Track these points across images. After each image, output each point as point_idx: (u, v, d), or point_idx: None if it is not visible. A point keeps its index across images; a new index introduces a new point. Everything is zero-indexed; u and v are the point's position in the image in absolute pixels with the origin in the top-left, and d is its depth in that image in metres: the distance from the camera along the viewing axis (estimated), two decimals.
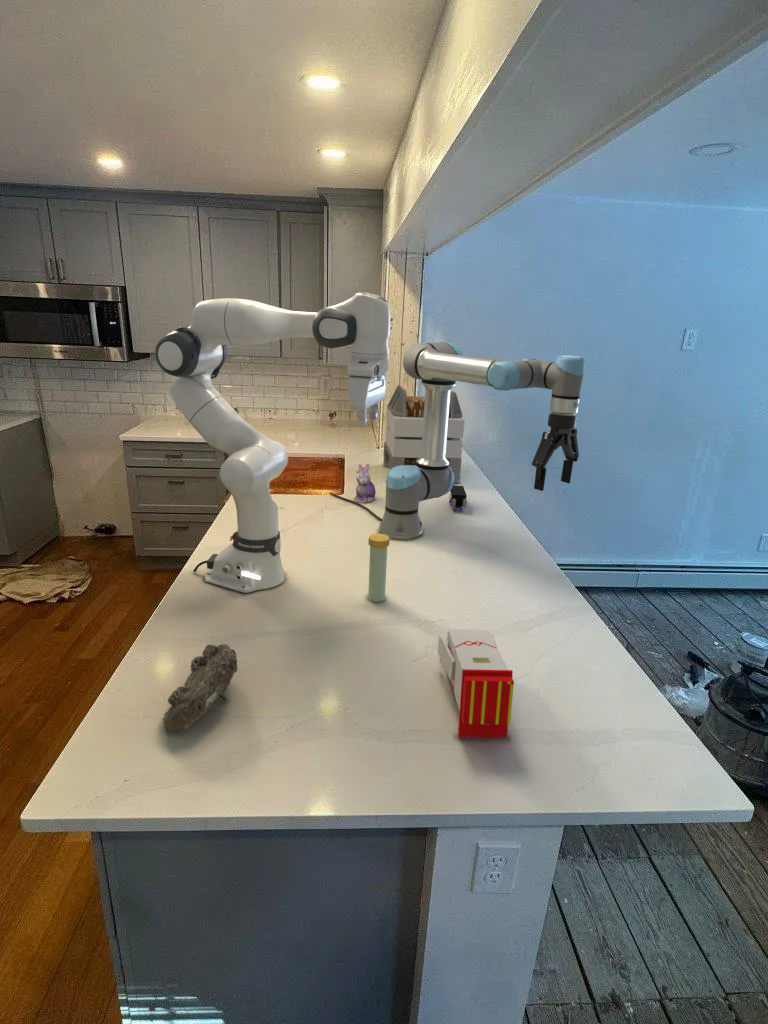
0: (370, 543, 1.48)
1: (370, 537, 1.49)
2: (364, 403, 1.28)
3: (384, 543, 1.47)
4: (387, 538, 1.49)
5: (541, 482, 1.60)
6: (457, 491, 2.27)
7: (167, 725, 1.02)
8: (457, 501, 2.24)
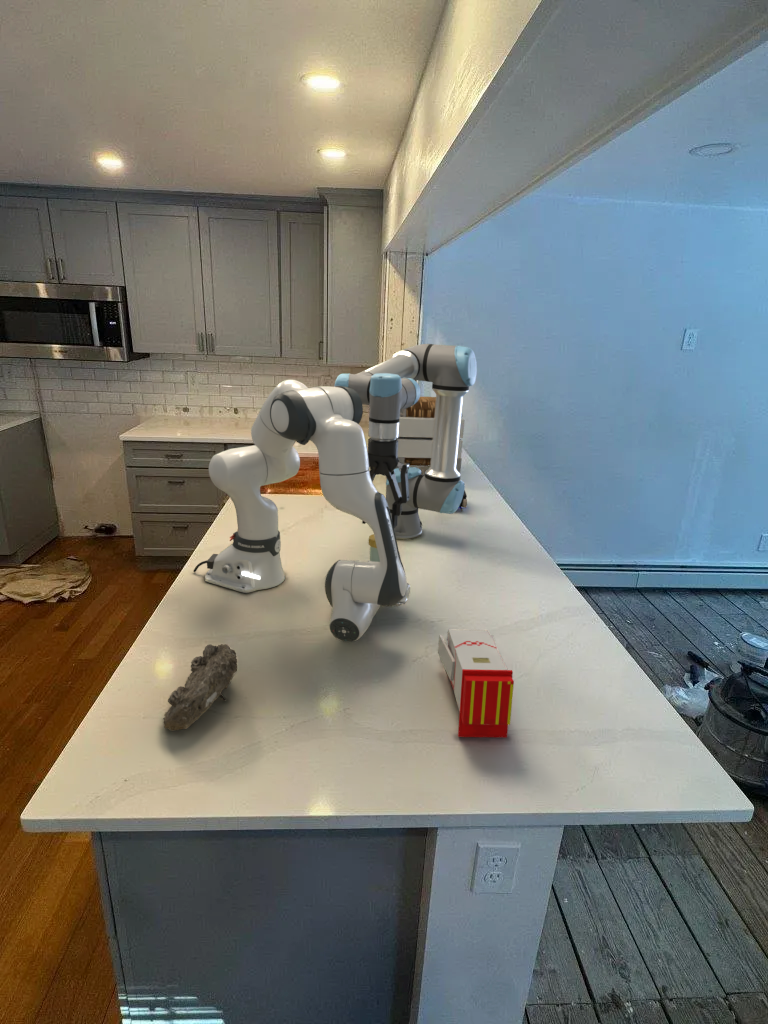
0: (370, 543, 1.48)
1: (370, 537, 1.49)
2: None
3: None
4: None
5: (397, 517, 1.47)
6: None
7: (167, 725, 1.02)
8: None
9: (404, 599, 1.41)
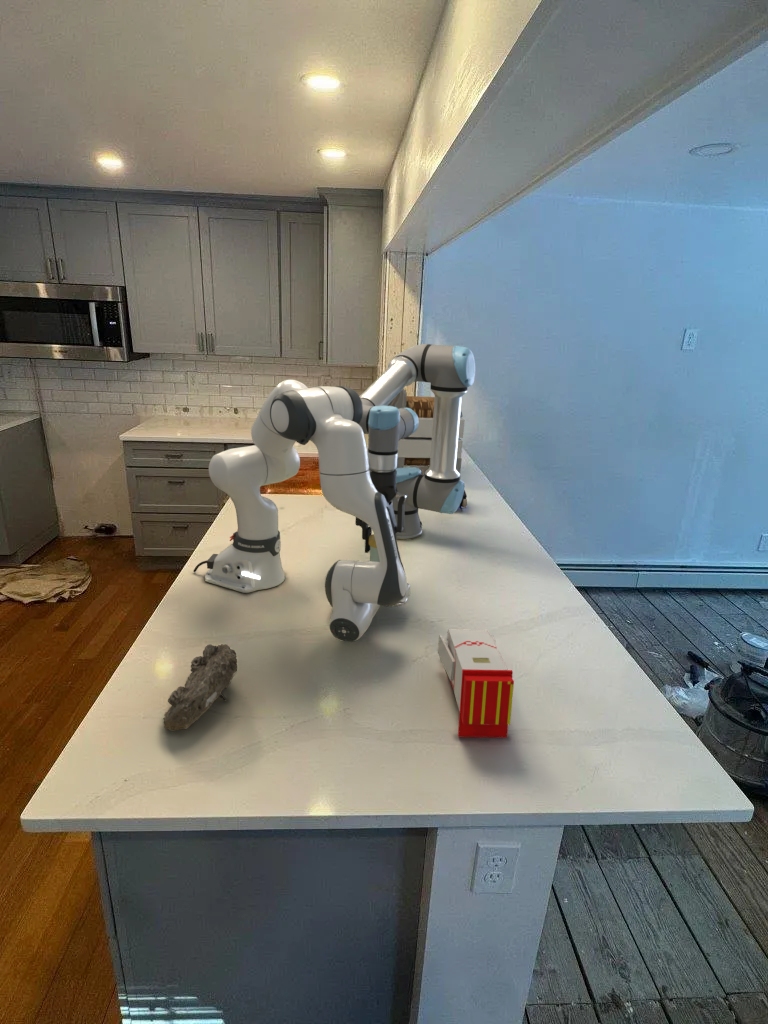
0: (370, 543, 1.48)
1: (370, 537, 1.49)
2: None
3: None
4: None
5: None
6: None
7: (167, 725, 1.02)
8: None
9: (404, 599, 1.41)
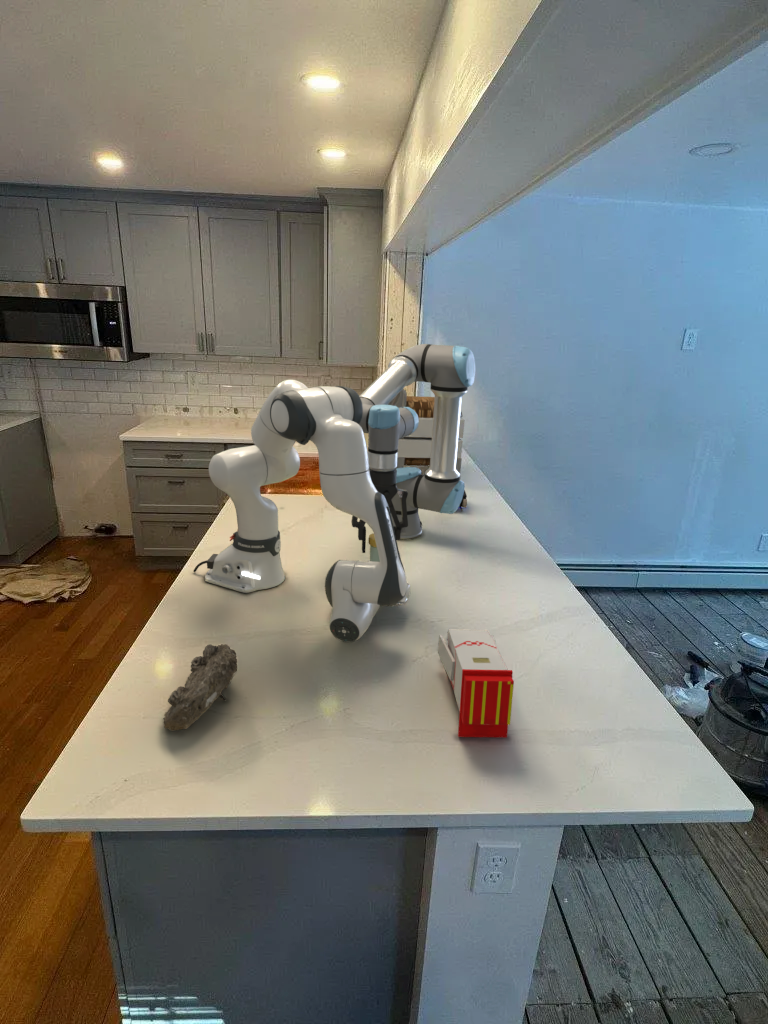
0: None
1: None
2: None
3: None
4: None
5: None
6: None
7: (167, 725, 1.02)
8: None
9: (404, 599, 1.41)
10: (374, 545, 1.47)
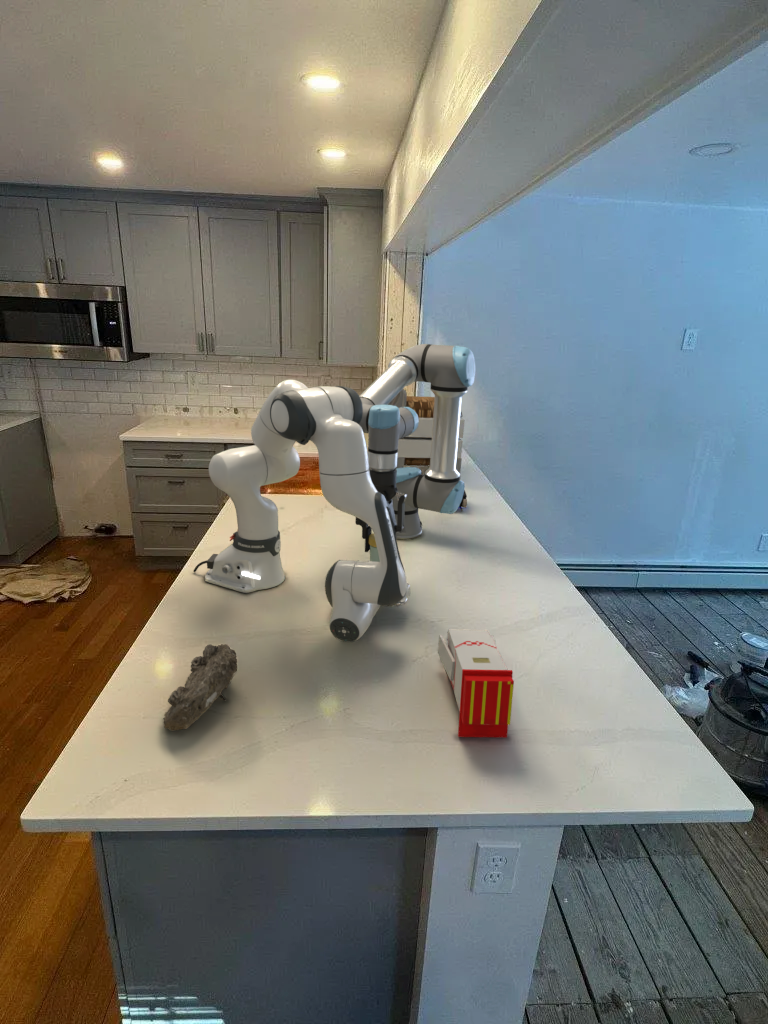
0: None
1: None
2: None
3: None
4: None
5: None
6: None
7: (167, 725, 1.02)
8: None
9: (404, 599, 1.41)
10: (374, 545, 1.47)
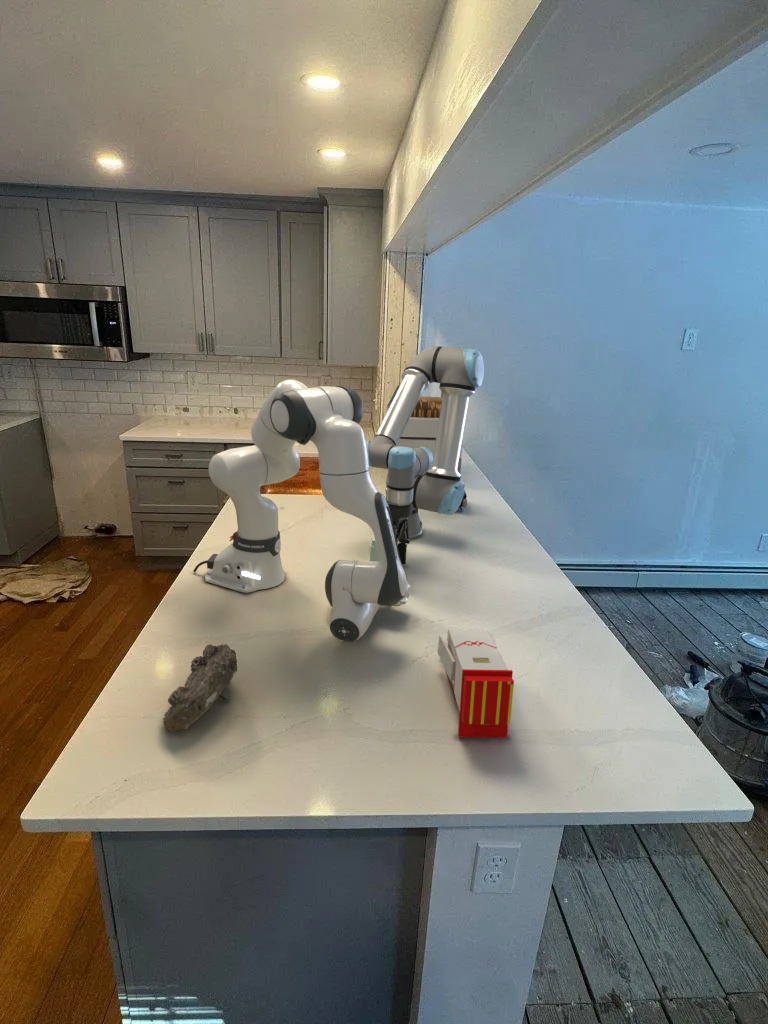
0: None
1: None
2: None
3: None
4: None
5: None
6: None
7: (167, 725, 1.02)
8: None
9: (404, 599, 1.41)
10: None
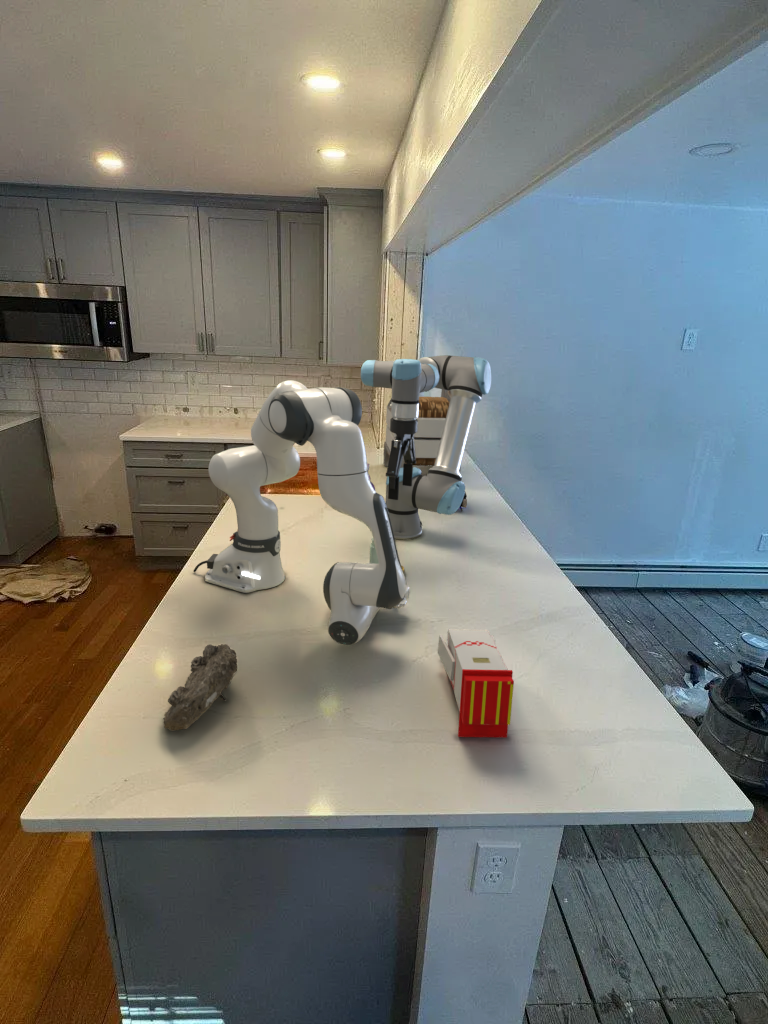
0: None
1: (402, 567, 1.69)
2: None
3: None
4: None
5: None
6: None
7: (167, 725, 1.02)
8: None
9: (403, 601, 1.40)
10: None
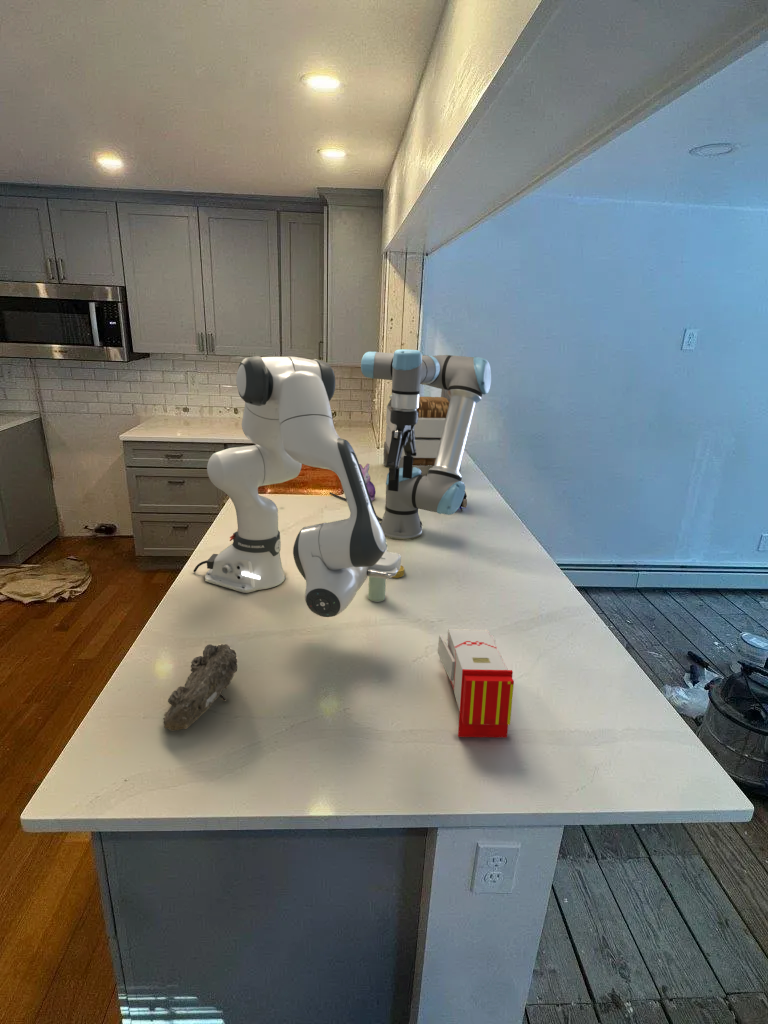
0: None
1: (402, 567, 1.69)
2: None
3: None
4: None
5: None
6: None
7: (167, 725, 1.02)
8: None
9: (394, 570, 1.24)
10: (403, 574, 1.69)
